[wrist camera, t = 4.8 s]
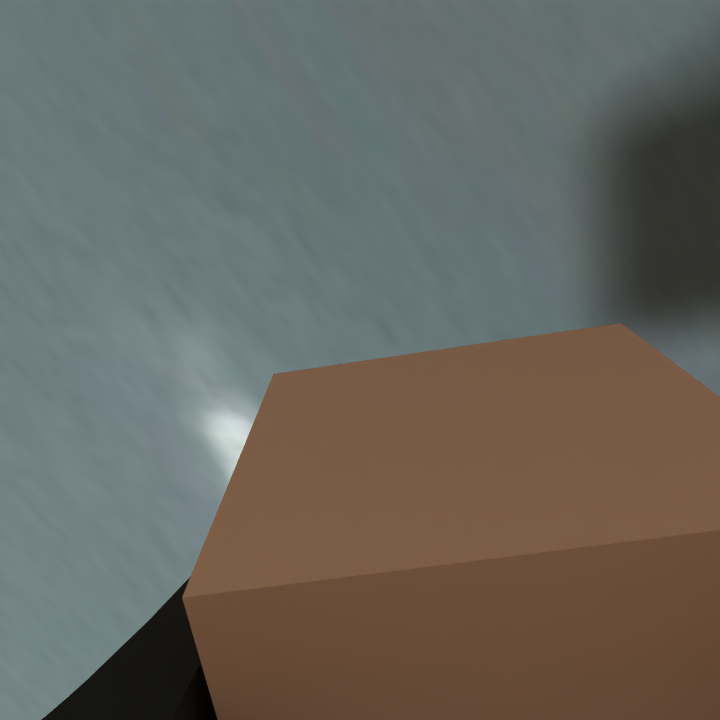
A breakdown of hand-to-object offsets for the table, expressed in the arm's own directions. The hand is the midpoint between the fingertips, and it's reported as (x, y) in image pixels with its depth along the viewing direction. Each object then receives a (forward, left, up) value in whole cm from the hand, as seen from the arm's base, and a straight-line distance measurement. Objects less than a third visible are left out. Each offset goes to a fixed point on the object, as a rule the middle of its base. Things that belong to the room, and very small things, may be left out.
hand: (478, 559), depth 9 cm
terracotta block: (0, 0, -2) cm, 2 cm away
